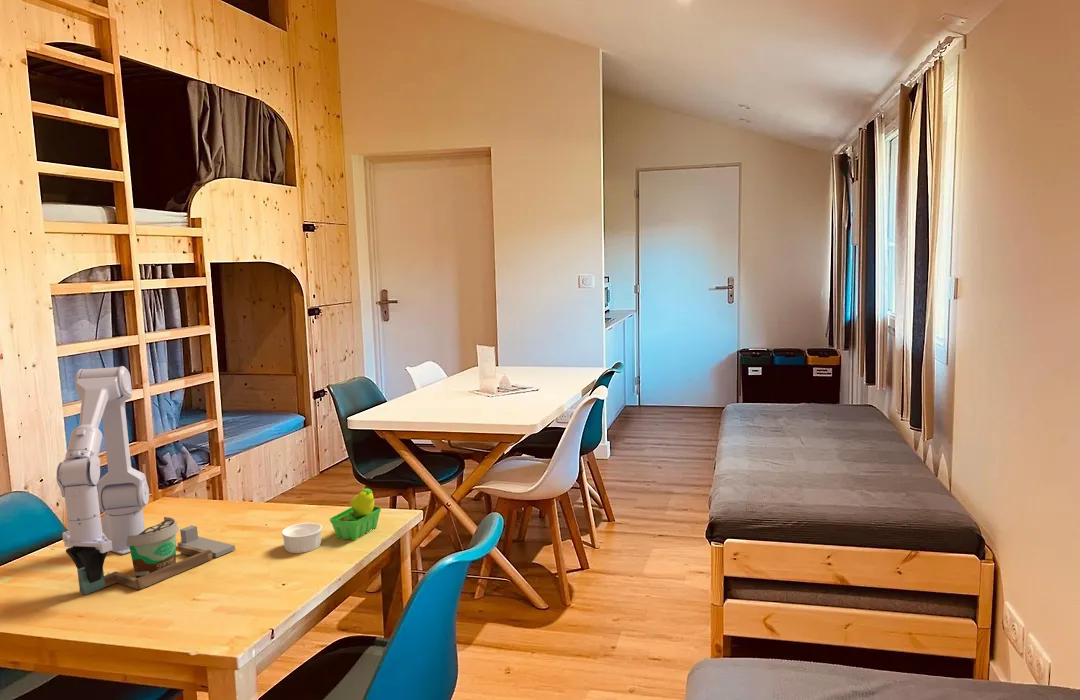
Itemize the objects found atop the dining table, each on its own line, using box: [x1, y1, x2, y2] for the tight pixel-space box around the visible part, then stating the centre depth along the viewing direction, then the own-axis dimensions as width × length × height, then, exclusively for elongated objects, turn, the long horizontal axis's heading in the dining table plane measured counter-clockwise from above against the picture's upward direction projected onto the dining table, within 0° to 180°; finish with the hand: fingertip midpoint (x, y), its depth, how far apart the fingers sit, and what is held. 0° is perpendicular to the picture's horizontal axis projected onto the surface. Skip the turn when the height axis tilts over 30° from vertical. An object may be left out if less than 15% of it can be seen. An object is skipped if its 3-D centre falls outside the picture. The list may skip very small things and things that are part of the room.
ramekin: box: [281, 522, 323, 554], centre depth 174 cm, size 9×9×4 cm
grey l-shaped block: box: [177, 525, 236, 558], centre depth 175 cm, size 14×5×4 cm, turn 60°
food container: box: [127, 516, 180, 578], centre depth 163 cm, size 12×6×10 cm, turn 168°
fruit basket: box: [329, 488, 382, 541], centre depth 181 cm, size 11×9×11 cm
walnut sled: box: [77, 545, 213, 596], centre depth 161 cm, size 10×24×5 cm, turn 150°
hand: (91, 579), depth 154 cm, fingers closed on walnut sled, 2 cm apart
